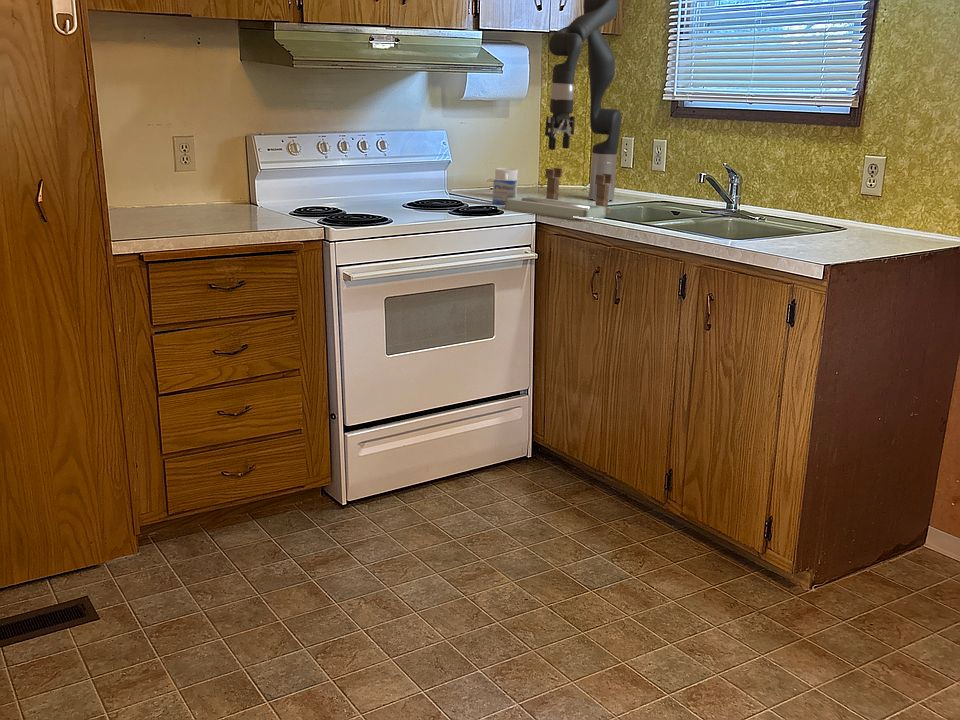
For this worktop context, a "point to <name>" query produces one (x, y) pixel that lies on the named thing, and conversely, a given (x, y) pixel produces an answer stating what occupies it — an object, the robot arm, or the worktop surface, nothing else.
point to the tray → (553, 208)
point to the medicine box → (503, 190)
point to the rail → (556, 203)
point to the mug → (506, 174)
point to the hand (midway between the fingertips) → (558, 148)
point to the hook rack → (600, 181)
